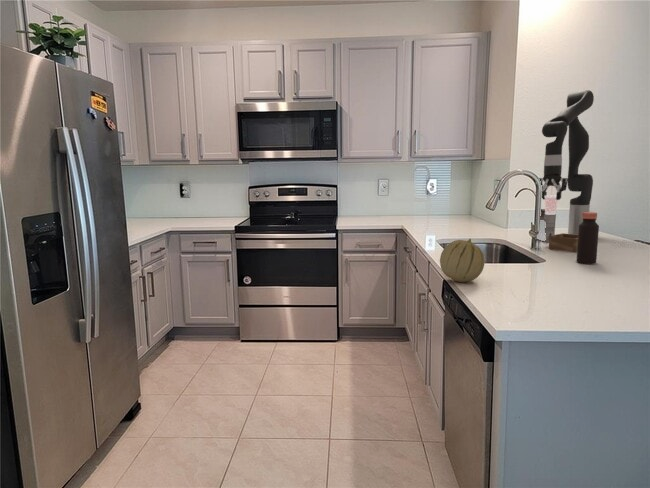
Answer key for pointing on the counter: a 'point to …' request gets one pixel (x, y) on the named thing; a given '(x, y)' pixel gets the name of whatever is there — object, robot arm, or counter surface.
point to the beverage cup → (550, 204)
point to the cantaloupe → (462, 261)
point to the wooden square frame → (564, 242)
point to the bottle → (588, 239)
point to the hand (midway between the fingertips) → (551, 199)
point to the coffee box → (548, 224)
